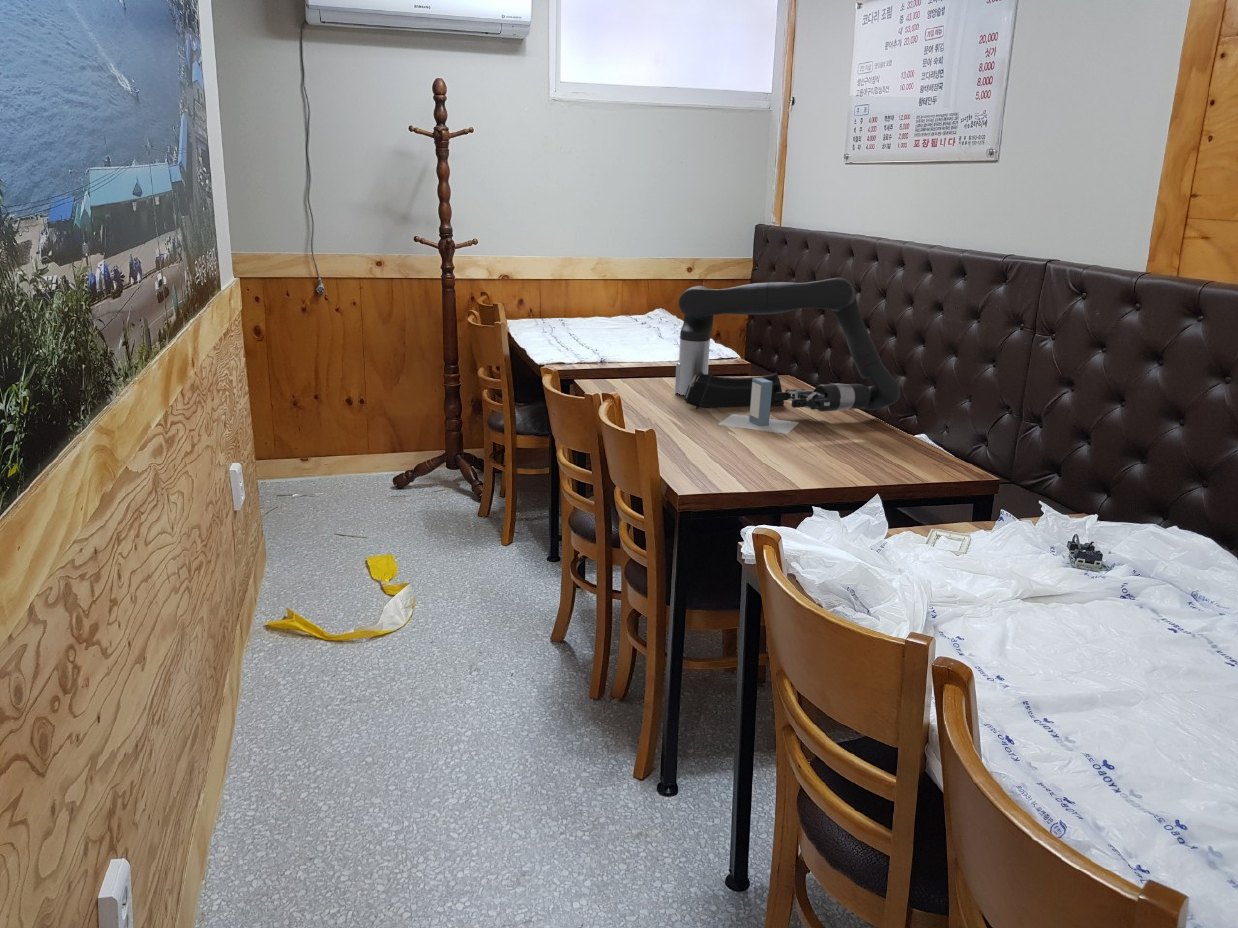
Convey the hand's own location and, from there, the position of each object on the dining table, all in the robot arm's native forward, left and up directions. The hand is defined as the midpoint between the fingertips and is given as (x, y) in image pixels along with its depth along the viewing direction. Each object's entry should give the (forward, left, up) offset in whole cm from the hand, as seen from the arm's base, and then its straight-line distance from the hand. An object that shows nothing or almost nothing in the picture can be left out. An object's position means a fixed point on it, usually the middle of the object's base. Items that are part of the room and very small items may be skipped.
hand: (784, 400), depth 242 cm
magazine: (-17, +12, -7) cm, 23 cm away
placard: (-5, -5, -6) cm, 10 cm away
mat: (-5, -5, -7) cm, 10 cm away
